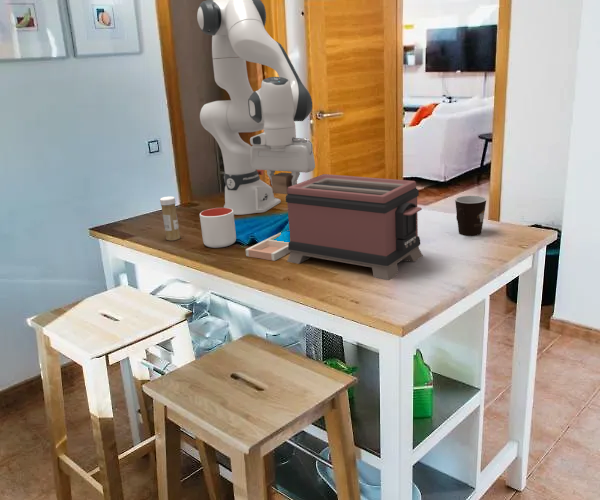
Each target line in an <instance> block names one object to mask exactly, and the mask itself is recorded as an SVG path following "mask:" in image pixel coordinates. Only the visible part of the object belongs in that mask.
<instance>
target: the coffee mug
mask: <svg viewBox="0 0 600 500" xmlns="http://www.w3.org/2000/svg"><path fill="white" fill-rule="evenodd" d="M454 201H455V202H454V203H455V211H456V218H455V219H456V222H457V231H458V234H459V235H461V236H465V237H475V236H476V237H477V236H479V235H481V234H482V230H483V225H484V219H485V211H486V203H487V198H486V197H484V196H481V195H464V196H463V195H462V196H457V197H456V198H455V199H454Z"/></svg>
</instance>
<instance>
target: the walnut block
mask: <svg viewBox="0 0 600 500" xmlns="http://www.w3.org/2000/svg"><path fill="white" fill-rule="evenodd" d="M271 177H272V185H271V188H272V190H273V194H280V195H287V194H288V193H287V189H288V187H290V186H289V185H290V184H289V181H291V180H292V178H293V175H292V173H291V172H285V171H280V172H279V173H276V174H275V173H274V175H272V176H271Z"/></svg>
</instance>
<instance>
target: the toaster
mask: <svg viewBox="0 0 600 500" xmlns="http://www.w3.org/2000/svg"><path fill="white" fill-rule="evenodd" d="M287 193H288V194H285V195H286V196H285V197H284V198H285V203H287V204H286V205H287V215H288V216H287V217H288V229H289V230H288V231H290V242H289V244H288V250H289V251H290V253H289V255H288V257H287V260H286V262H287V263H292V264H297V265H300V264H301V263H304V262H306V261H307V260H309V259H310V258H316V259H321V260H327V261H332V262H339V263H345V264H350V265H357V266H362V267H366V268H367V267H368V268H371V269H372V270H371V271H372V274H373V275H372V276H373V279H374V278H375V279H379V280H385V281H390V280H391V279H393V278H394V277H395V276H397V275H399V267H398V263H400V262H401V261H404V262H411V263H415V262H417V261H418V260H420V258H423V257H424V255H423V253H422V251H421V249H420V246H421V239H420V236H419V234H418V233H419V232H418V228H419V227H418V225H419V224H418V221H419V220H418V218H419V217H418V213H419V212H420V211H422V208H423V207H420V206H418V197H419V195H420V193H419V189H418V188H417V181H415V180H408V179H407V180H405V179H394V178H393V179H391V178H378V177H367V176H366V177H365V176H353V175H340V174H339V175H338V174H327V173H326V174H325V173H324V174H320V175H317V176H315V177H313V178H310V179H306V180H303V181H301V182H299V183H298V182H297V184H296V185H293V186H290V187H288V189H287Z"/></svg>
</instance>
